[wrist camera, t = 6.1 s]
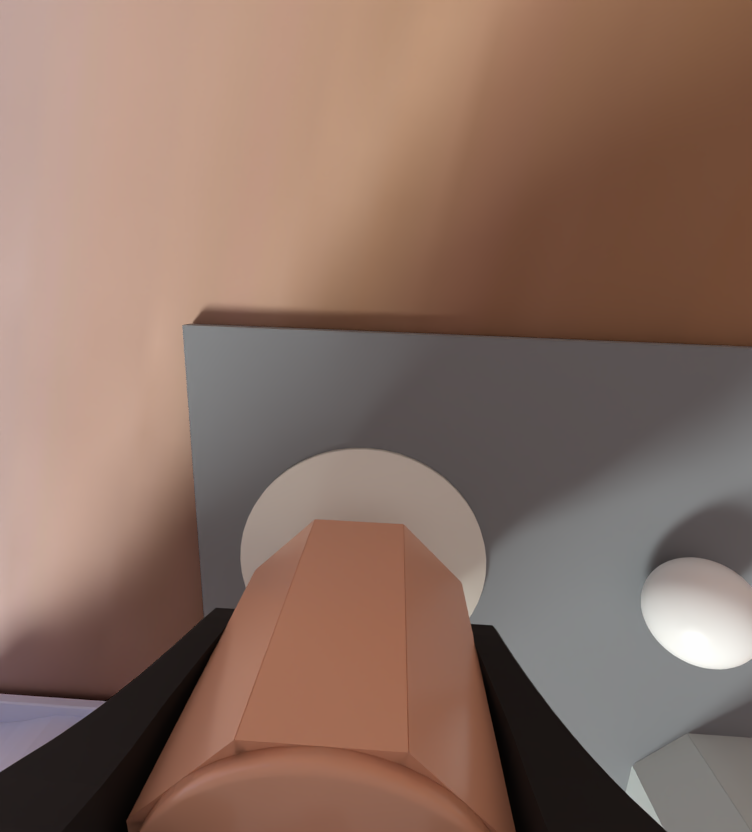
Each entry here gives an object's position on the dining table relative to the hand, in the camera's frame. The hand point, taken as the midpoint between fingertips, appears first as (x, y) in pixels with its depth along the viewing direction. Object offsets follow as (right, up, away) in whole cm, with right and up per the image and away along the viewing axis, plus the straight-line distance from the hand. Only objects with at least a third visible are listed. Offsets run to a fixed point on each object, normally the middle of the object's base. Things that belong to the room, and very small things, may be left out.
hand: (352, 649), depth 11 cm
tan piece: (0, 0, +1) cm, 1 cm away
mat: (+6, -2, +5) cm, 8 cm away
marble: (+10, 0, +2) cm, 10 cm away
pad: (0, +1, +4) cm, 4 cm away
